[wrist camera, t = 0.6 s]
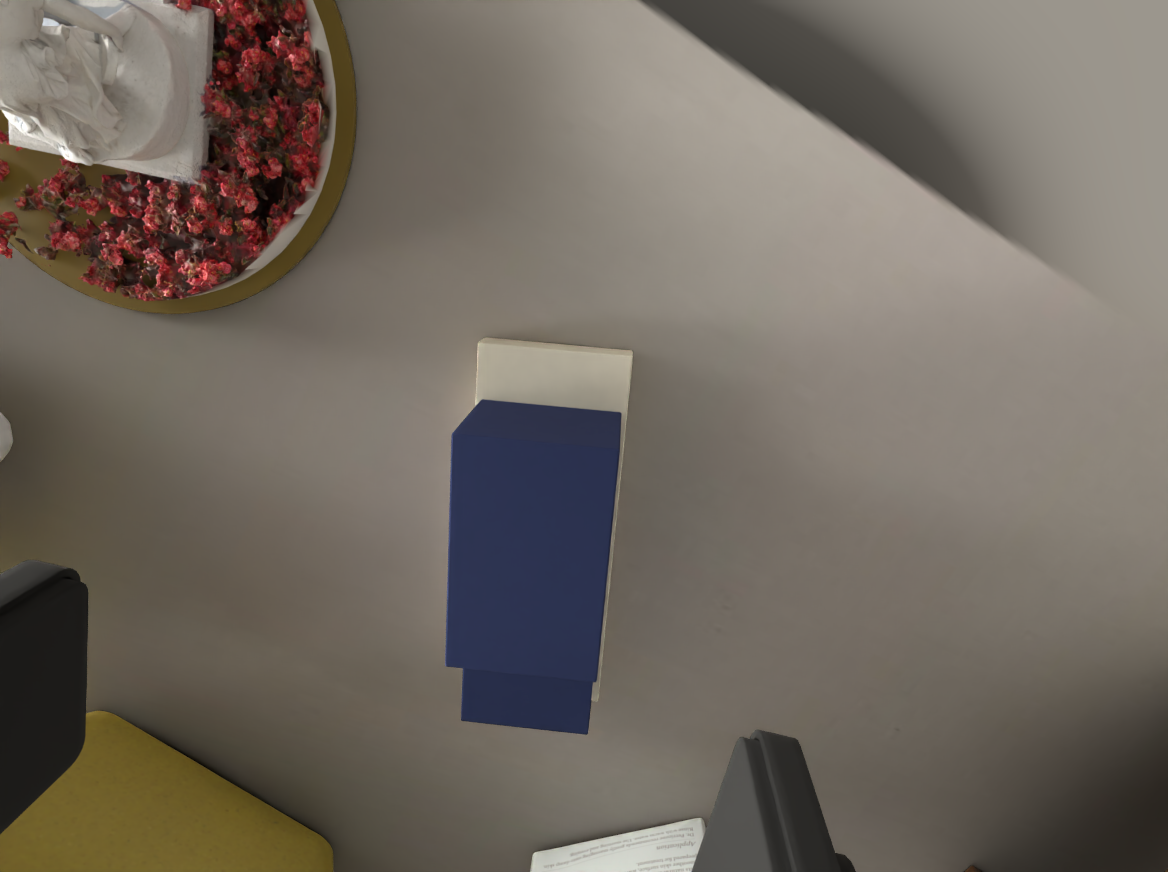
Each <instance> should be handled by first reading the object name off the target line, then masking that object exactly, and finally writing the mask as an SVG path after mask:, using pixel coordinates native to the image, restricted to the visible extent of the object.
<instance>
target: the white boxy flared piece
mask: <svg viewBox="0 0 1168 872" xmlns="http://www.w3.org/2000/svg"><path fill="white" fill-rule="evenodd" d="M12 443H13V437H12V431H11V426H10V422H9V421H8V420H7V419H6V418H5V417H4V416H3V414H2V413H1V412H0V461H2V460H3V459H4V457H5V456H6V455H7V454H8V452H9V451H10V448H11V445H12Z"/></svg>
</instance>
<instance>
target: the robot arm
mask: <svg viewBox="0 0 1168 872" xmlns="http://www.w3.org/2000/svg"><path fill="white" fill-rule="evenodd" d="M87 640H88V588H87V586H86V584H84V583H82V582H80V576H79V574H78V573H77V571H75V570H73V569H71V568H67V567H62V566H58V565H54V564H49V563H45V562H41V561H37V560H27V561H24V562H22V563H19V564H18V565H16V566H14V567H12V568H10V569H9V570H7V571H5V572H3V573H1V574H0V834H1V833H2V832H3V831H4V830H5V829H6V828H8V827H9V826H10V825H11V824H12V823H13V822H14V821H15V820H16V819H17V818H18V817H19V816H20V815H21V814H22V813H23V812H24V811H25V810H26V809H27V808H28V807H29V806H30V805H31V804H32V803H34V802H35V801H36V800H37V799H38V798H39V797H40V796H41V795H42V794H43V793H44V792H45V791H46V790H47V789H48V788H49V787H50V786H51V785H52V784H53V783H54V782H55V781H56V780H57V779H58V778H59V777H61V776H62V775H63V774H64V773H65V772H66V771H67V770H68V769H69V768H70V767H71V766H72V764H73V763H74V762H75V761H76V759H77V758H78V756H79V754H80V752H81V750H82V748H83V745H84V742H85V736H86V689H87ZM691 872H856V871H855V869H854V867H853V865H852V863H851V861H850V860H849V859H848V858H847V857H846V856H845V855H842V854H838V853H835V851H834V848H833V845H832V842H831V839H830V836H829V833H828V830H827V826H826V823H825V820H824V817H823V814H822V811H821V808H820V805H819V802H818V799H817V795H816V792H815V789H814V786H813V783H812V780H811V777H810V774H809V771H808V768H807V764H806V761H805V758H804V755H803V752H802V749H801V746H800V744H799V742H798V740H797V739H795V738H792V737H788V736H783V735H779V734H775V733H771V732H766V731H762V730H755V731H754V732H753V733H752V735H751V737H750V739H748V738H744V737H740V738H739V739H738V740H737V743H736V745H735V748H734V750H733V753H732V756H731V759H730V762H729V765H728V768H727V771H726V773H725V776H724V779H723V782H722V785H721V788H720V791H719V794H718V796H717V799H716V802H715V805H714V808H713V811H712V814H711V817H710V819H709V822H708V825H707V828H706V831H705V834H704V837H703V840H702V842H701V845H700V848H699V851H698V854H697V857H696V860H695V863H694V865H693V868H692V871H691Z"/></svg>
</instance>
